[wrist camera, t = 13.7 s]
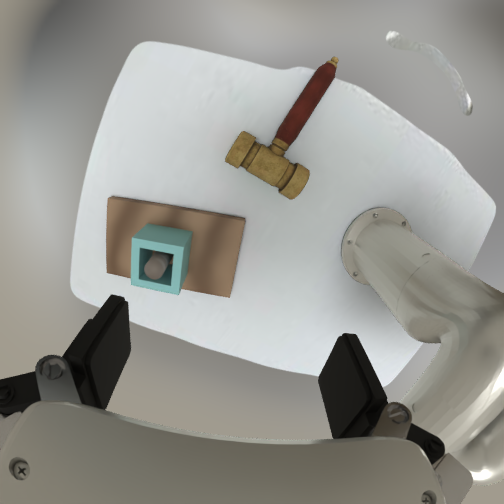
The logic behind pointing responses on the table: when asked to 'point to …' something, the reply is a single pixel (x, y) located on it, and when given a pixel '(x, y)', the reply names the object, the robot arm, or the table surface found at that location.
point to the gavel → (283, 140)
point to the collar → (164, 242)
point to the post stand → (200, 260)
